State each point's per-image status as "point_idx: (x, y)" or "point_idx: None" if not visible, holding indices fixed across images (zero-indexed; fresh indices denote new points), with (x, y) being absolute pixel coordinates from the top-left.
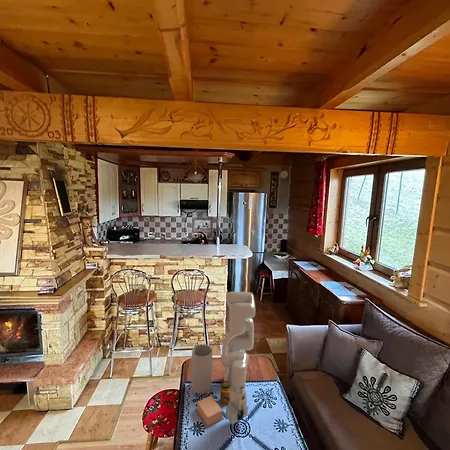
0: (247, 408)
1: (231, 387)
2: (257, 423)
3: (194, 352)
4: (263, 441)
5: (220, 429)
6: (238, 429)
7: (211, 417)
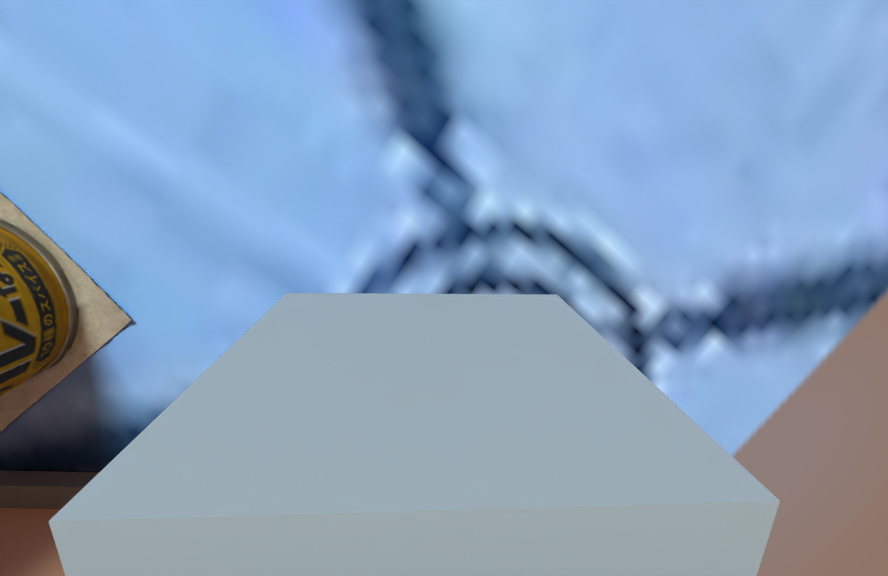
0: (670, 418)
1: None
2: (611, 100)
3: None
4: (867, 239)
5: None
6: None
7: None
